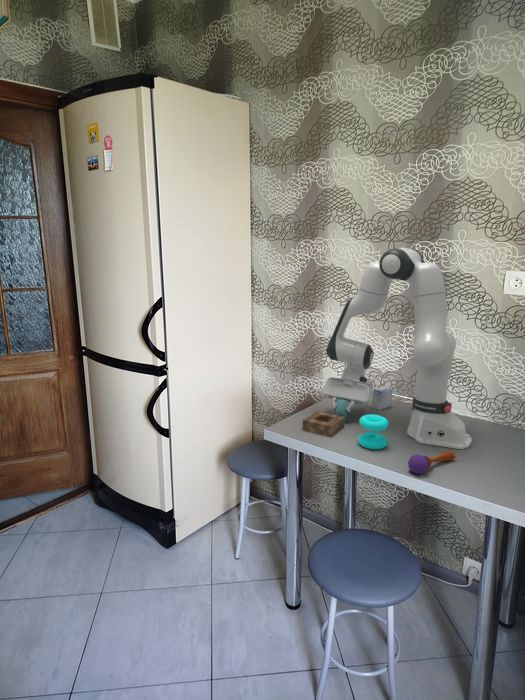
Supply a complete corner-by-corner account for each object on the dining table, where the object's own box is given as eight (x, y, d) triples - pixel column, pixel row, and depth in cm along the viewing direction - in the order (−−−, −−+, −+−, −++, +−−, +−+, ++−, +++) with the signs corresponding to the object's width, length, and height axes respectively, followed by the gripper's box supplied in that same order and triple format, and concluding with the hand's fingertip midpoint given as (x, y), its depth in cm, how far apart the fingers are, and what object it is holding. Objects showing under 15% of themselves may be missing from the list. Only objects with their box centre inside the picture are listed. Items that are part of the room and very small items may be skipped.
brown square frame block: (343, 426, 180) (344, 416, 179) (331, 436, 170) (331, 426, 169) (316, 420, 186) (316, 410, 185) (302, 429, 176) (302, 419, 175)
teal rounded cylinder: (347, 421, 185) (348, 400, 183) (343, 424, 182) (344, 402, 180) (338, 419, 187) (339, 398, 185) (334, 422, 184) (335, 400, 182)
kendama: (461, 452, 150) (422, 463, 139) (455, 467, 152) (416, 479, 141) (446, 442, 154) (407, 452, 143) (440, 457, 156) (401, 468, 145)
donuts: (383, 425, 155) (355, 419, 160) (381, 453, 157) (353, 446, 162) (392, 416, 163) (365, 411, 168) (390, 443, 165) (363, 436, 170)
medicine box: (382, 404, 206) (384, 385, 204) (391, 406, 203) (392, 388, 201) (371, 407, 201) (373, 388, 199) (380, 410, 198) (381, 391, 196)
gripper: (326, 372, 192) (315, 401, 186) (373, 380, 181) (363, 411, 175) (330, 380, 197) (319, 408, 191) (376, 388, 186) (366, 418, 180)
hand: (340, 410), depth 183 cm, fingers closed on teal rounded cylinder, 4 cm apart
